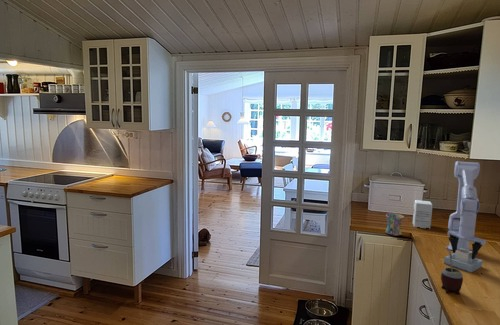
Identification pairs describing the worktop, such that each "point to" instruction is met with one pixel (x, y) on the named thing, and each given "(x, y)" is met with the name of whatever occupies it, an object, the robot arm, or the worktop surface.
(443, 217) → the worktop surface
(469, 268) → the big crate
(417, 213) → the supplement box
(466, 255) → the box
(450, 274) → the mate gourd
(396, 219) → the mug
